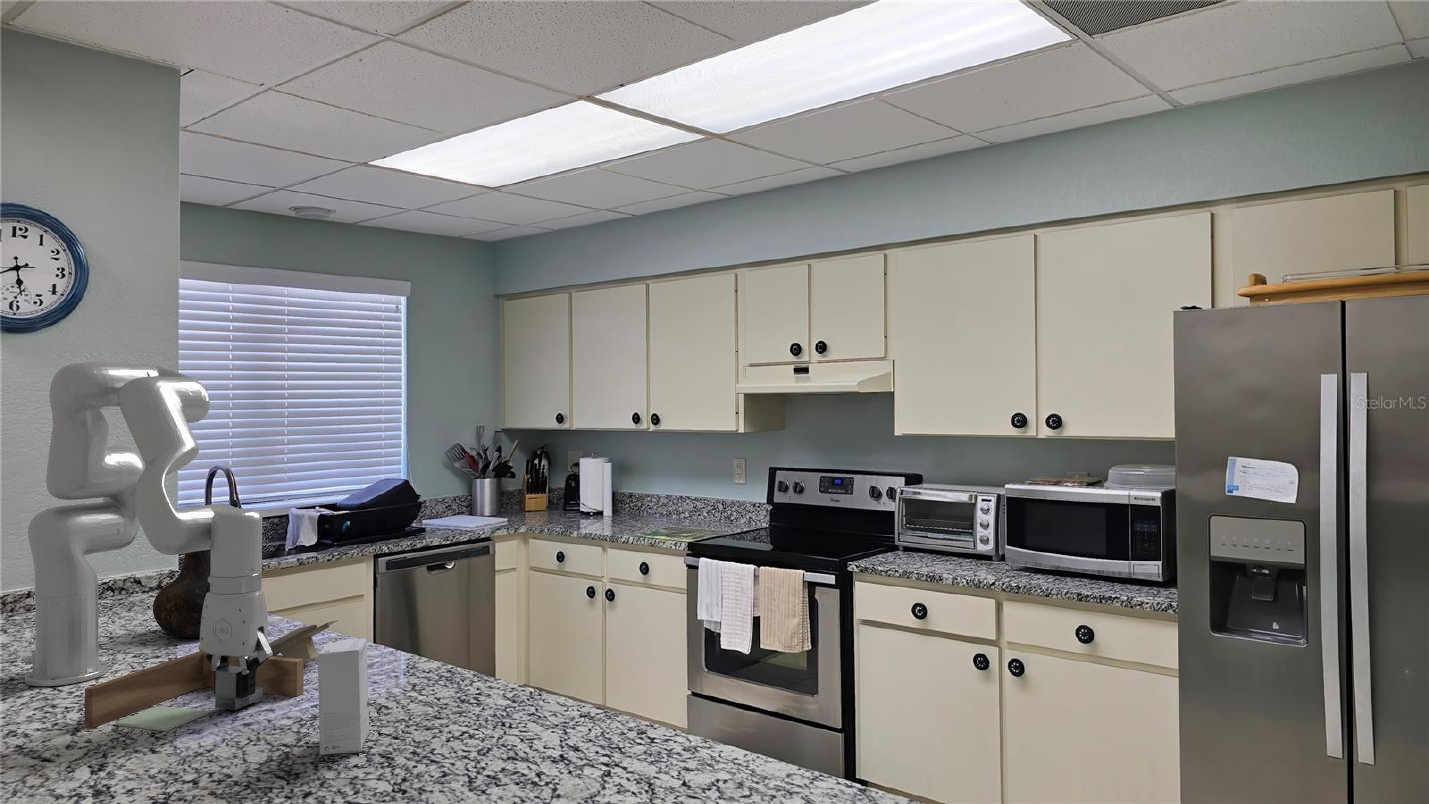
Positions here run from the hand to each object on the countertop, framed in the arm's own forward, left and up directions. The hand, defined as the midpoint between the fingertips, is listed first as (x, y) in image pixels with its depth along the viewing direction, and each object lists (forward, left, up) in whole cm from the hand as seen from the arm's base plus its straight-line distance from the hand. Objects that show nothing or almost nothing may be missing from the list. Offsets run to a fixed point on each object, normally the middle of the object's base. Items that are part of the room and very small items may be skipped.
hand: (234, 693), depth 150 cm
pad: (-7, -7, -3) cm, 11 cm away
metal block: (0, +1, -2) cm, 2 cm away
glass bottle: (-45, +38, -3) cm, 59 cm away
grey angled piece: (-10, +23, -3) cm, 25 cm away
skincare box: (+28, -8, -3) cm, 29 cm away
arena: (-5, -1, -3) cm, 6 cm away
